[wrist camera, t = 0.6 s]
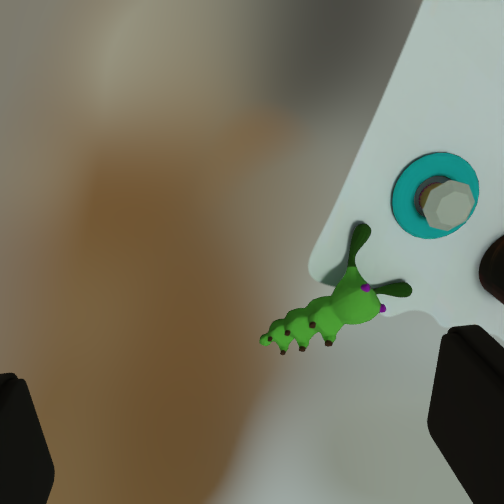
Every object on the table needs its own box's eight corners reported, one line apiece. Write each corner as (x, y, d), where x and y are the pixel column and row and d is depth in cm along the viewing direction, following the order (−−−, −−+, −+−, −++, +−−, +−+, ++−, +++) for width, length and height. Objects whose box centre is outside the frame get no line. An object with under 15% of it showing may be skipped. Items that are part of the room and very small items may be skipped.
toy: (360, 279, 40) (367, 218, 47) (227, 322, 50) (249, 267, 58) (416, 353, 45) (414, 287, 52) (284, 379, 55) (298, 321, 62)
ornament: (520, 199, 45) (452, 268, 47) (494, 188, 49) (433, 253, 51) (457, 138, 41) (387, 217, 44) (434, 132, 45) (372, 204, 48)
